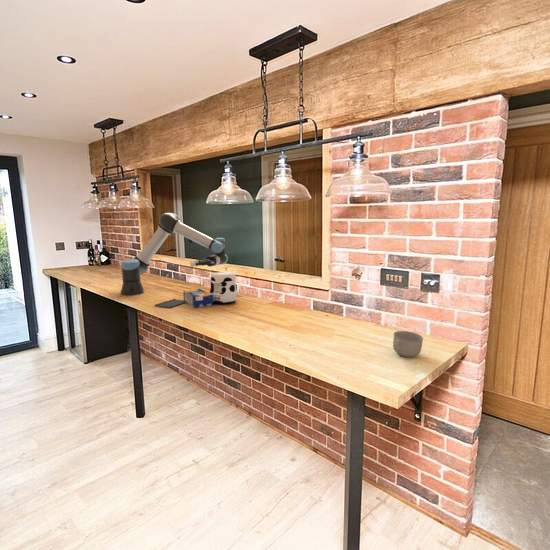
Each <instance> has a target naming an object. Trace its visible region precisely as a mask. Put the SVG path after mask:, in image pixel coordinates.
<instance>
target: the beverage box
mask: <svg viewBox="0 0 550 550" xmlns="http://www.w3.org/2000/svg"><path fill="white" fill-rule="evenodd" d="M182 293H183V300H185V301H187V303H186V304H188V305H190V306H191V307H193V308H195V309H199V308H206V307H213V306H214V302H213V295H212V294H210V292H208V291H206V290H203V289H201V288H195V289H194V288H193V289H184V290H183V292H182Z"/></svg>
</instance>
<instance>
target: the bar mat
mask: <svg viewBox="0 0 550 550" xmlns="http://www.w3.org/2000/svg"><path fill="white" fill-rule="evenodd" d="M184 304H188V303H187V301H185V300H184V299H177V298H172V299H169V300H166V301H163V302H160V303H159V302H158V303H156V304H154V307H159V308H165V309H166V308H167V309H173V308H175V307H178V306H181V305H184Z"/></svg>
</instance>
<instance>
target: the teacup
mask: <svg viewBox="0 0 550 550" xmlns="http://www.w3.org/2000/svg"><path fill="white" fill-rule="evenodd" d="M423 340H424V337H423V336H422V335H421V334H419V333H416V332H413V331H406V330H398V331H395V332H394V333H393V342H392V344H393V345H392V347H393V350H394V351H395V352H396V354H397V355H399V356H401V357H404V358H414V357H416V356H418V355H419V354H421V351H422V347H423Z"/></svg>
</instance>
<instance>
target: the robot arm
mask: <svg viewBox="0 0 550 550" xmlns="http://www.w3.org/2000/svg"><path fill="white" fill-rule="evenodd" d="M158 221H159V223H158V224H157V226H158V227H157V230H155V232H154V233H153V235H152V236H151V238H149V240H148V242H147V243H146V245H145V246H144V247H143V249H142V250H141V252H140V253H138V254H136V255H135V257H134V258H129V259H125V260H122V262H121V274H122V276H121V277H122V285H121V289H120V295H122V294H125V295H124V296H134V295H141V294H143V293H144V292H145V290H144V287H143V284H142V282H141V276H142V275H144V274H145V273H147V271H148V269H149V267H150V265H151V260H152V258H153V257H154V256H155V255H156V253H157V252H158V250H159V249H160V248H161V246H162V245H163V243H164V242H166V241H165V240H166V239H167V238H168V237H169V236H171V235H173V234H175V233H177V234H178V235H181V236H182V237H184V238H186V239H189V240H190V241H192V242H194V243H197V244H198V245H201V246H203V247H205V248H206V249H209V250H211V251H212V252H213V253H214V255H213V254H212V255H208V256H206V257H205V258H204V259H203V258H202V259H198V260H194V261H192V262H190V268H191V267H192V268H193V267H198V266H207V267H210V268H211V267H216V266H218V265H224V264H226V263H227V262H229V261H228V260H229V257H228V255H227V254H226V240H225V237H216V238H212V237H210V236H208V235H206V234H205V233H202V232H200V231H198V230H196V229H194V228H193V227H190V226H188V225H186V224H184V223H182V222H181V218H180V217H179V215H178V214H177V213H174V212H165V213H163V214H161V215H160V217H159V220H158Z"/></svg>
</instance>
